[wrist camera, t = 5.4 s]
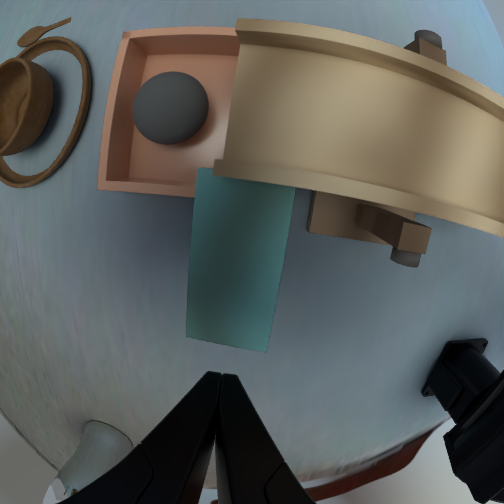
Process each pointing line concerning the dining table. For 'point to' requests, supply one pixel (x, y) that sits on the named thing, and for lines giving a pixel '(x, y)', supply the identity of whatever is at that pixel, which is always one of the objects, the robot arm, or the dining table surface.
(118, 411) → the dining table surface
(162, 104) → the ball
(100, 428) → the beer glass
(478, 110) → the lever
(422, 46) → the lever stand
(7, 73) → the place setting
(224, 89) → the dish
